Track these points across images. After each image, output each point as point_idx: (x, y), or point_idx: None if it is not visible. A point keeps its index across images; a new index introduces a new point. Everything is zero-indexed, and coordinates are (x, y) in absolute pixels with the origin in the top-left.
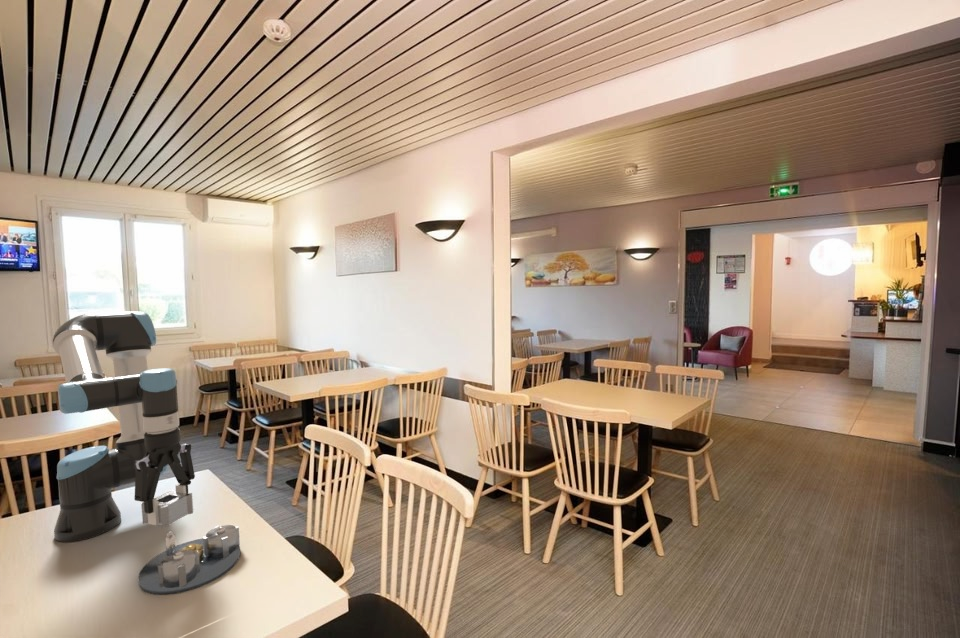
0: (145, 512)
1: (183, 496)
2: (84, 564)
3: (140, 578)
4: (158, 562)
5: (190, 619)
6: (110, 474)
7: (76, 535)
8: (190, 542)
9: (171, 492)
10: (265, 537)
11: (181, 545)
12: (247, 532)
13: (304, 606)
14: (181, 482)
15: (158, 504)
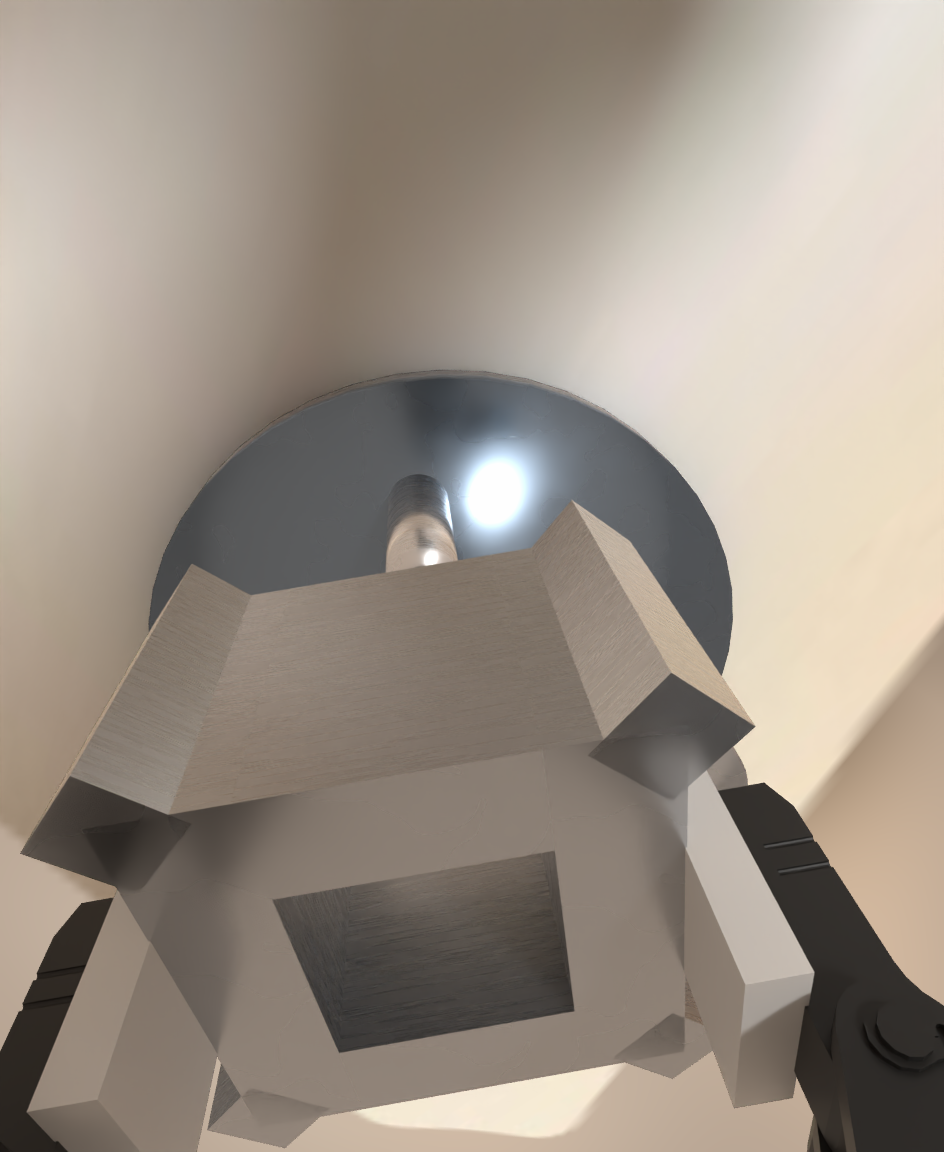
0: (73, 923)
1: (597, 1048)
2: None
3: (167, 580)
4: (326, 497)
5: None
6: None
7: None
8: (602, 441)
9: (646, 801)
10: (823, 731)
11: (545, 419)
12: (856, 600)
13: (482, 1111)
14: (831, 1115)
15: (240, 1034)
